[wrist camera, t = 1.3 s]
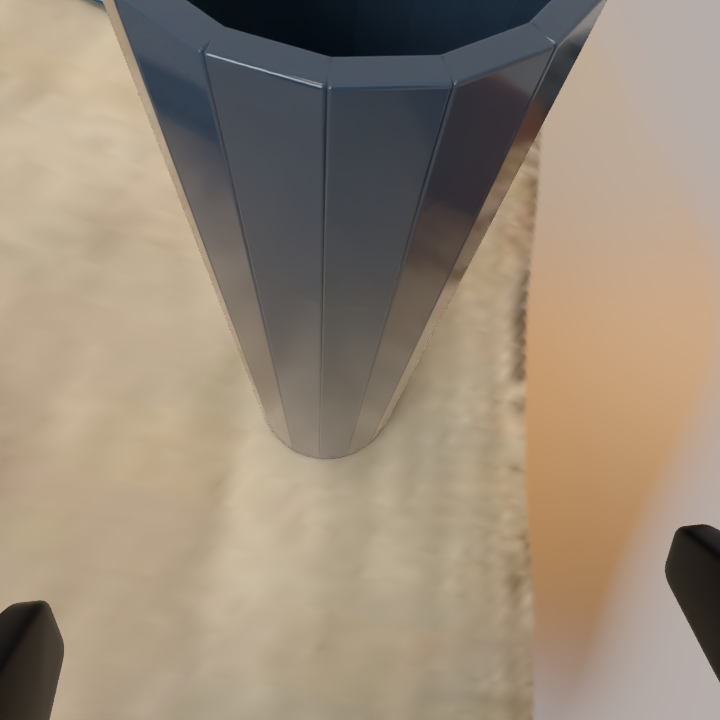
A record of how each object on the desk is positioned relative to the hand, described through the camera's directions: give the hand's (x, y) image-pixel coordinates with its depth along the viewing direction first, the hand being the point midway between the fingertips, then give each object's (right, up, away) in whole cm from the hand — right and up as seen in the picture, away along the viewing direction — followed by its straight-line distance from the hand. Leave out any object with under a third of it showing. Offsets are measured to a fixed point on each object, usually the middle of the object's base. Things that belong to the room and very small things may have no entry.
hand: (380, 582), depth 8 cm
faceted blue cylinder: (-2, +2, +14) cm, 14 cm away
